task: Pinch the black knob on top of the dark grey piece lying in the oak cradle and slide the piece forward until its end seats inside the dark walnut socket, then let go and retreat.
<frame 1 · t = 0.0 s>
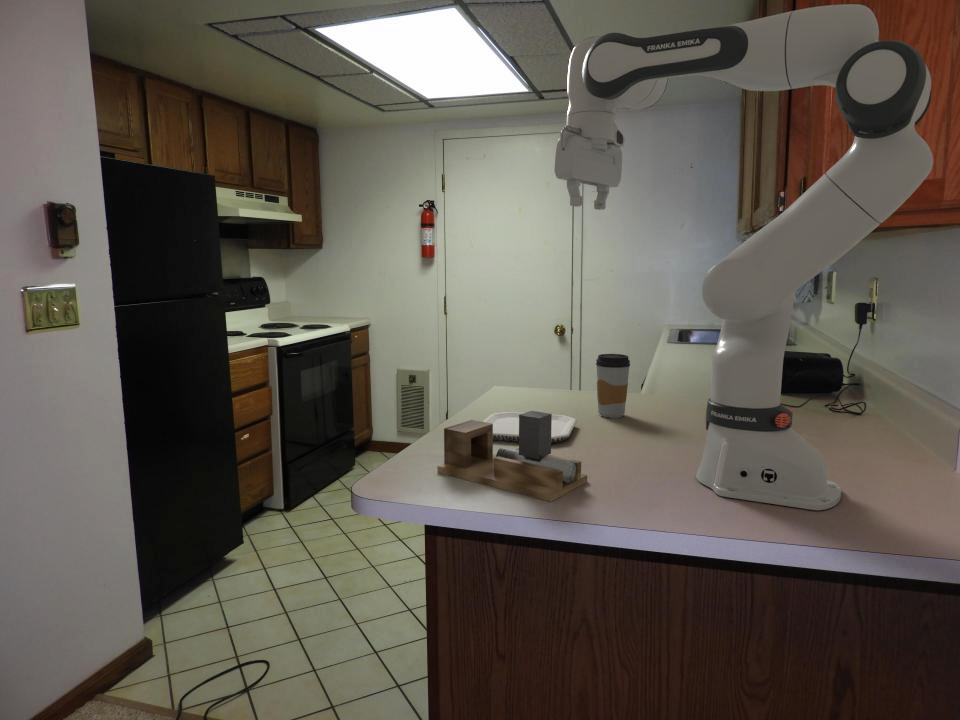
hand: (588, 208, 124), 48 cm above the worktop, tool pointing down, fingers open, 8 cm apart
cradle: (510, 476, 115), on the worktop
dark grey piece: (535, 444, 111), point 7 cm above the worktop, slide at 0.0 cm
plate: (527, 433, 146), on the worktop
coffee cup: (611, 416, 162), on the worktop
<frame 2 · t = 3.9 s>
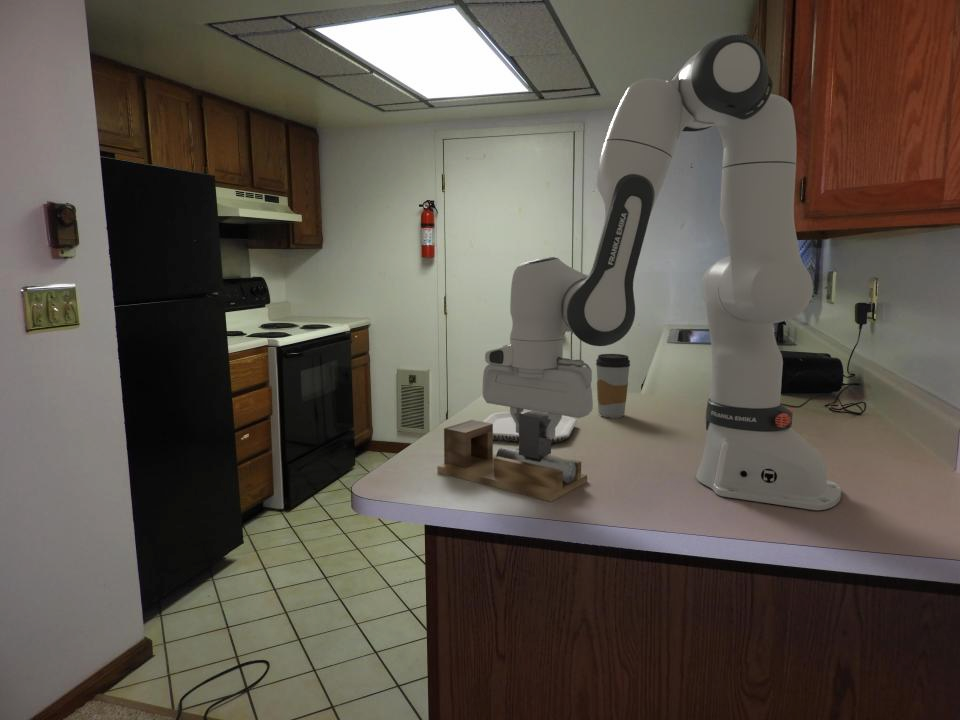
hand: (535, 435, 111), 8 cm above the worktop, tool pointing down, fingers closed on dark grey piece, 4 cm apart
dark grey piece: (535, 444, 111), point 7 cm above the worktop, slide at 0.0 cm, touching gripper
everything else where it was.
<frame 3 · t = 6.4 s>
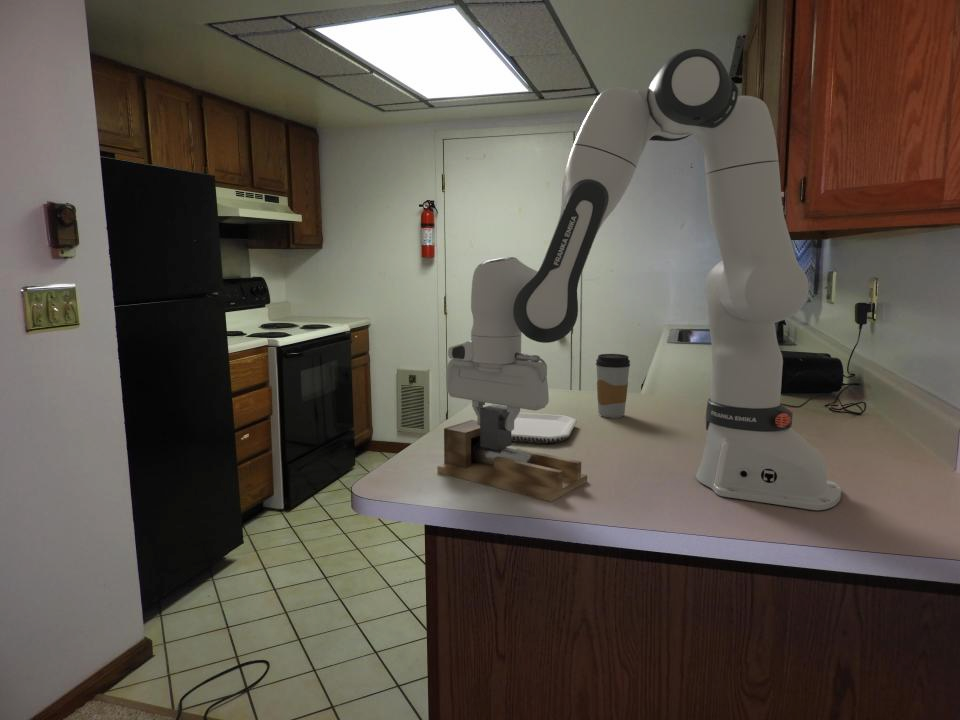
hand: (495, 427, 116), 8 cm above the worktop, tool pointing down, fingers closed on dark grey piece, 4 cm apart
dark grey piece: (495, 436, 116), point 7 cm above the worktop, slide at 8.3 cm, touching gripper
everything else where it was.
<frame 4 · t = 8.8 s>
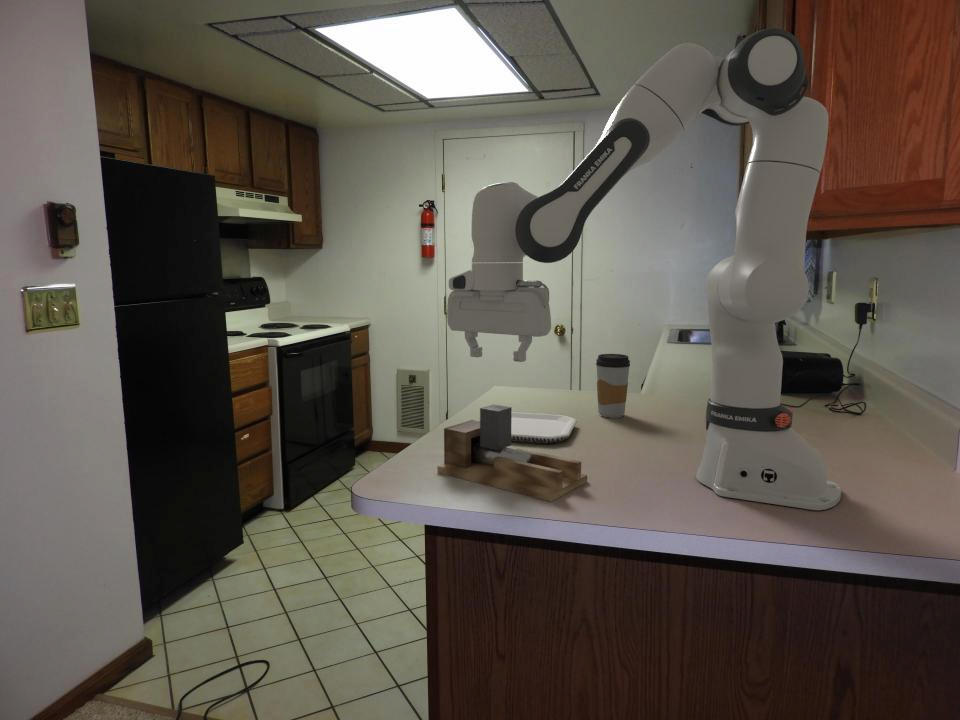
hand: (497, 359, 114), 21 cm above the worktop, tool pointing down, fingers open, 8 cm apart
dark grey piece: (495, 436, 116), point 7 cm above the worktop, slide at 8.3 cm
everything else where it was.
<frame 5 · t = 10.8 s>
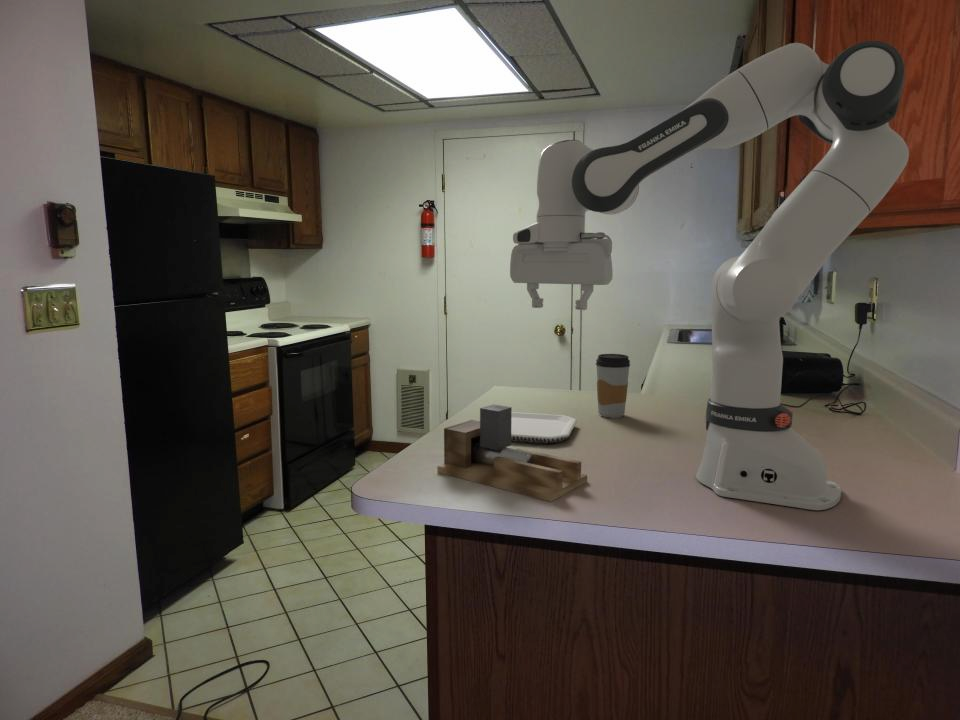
hand: (558, 308, 121), 29 cm above the worktop, tool pointing down, fingers open, 8 cm apart
nothing on the worktop moved.
at the end: dark grey piece slide at 8.3 cm; the gripper is holding nothing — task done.
